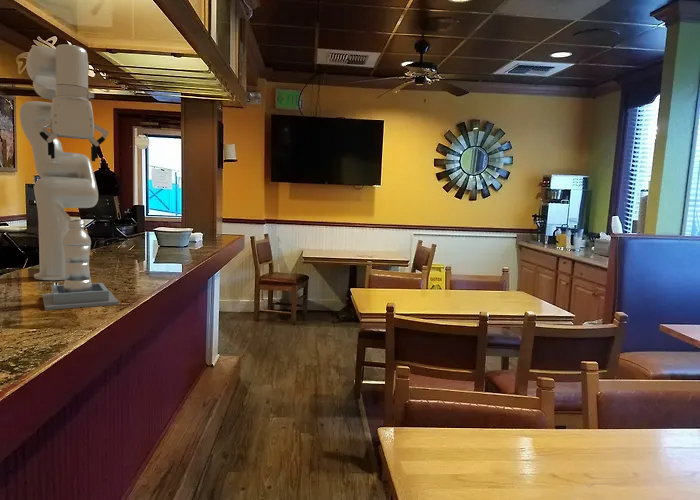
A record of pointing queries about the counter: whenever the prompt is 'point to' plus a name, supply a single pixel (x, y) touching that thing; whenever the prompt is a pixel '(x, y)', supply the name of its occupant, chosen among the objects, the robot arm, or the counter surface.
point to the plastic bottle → (77, 258)
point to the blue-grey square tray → (79, 298)
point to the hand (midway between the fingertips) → (73, 159)
